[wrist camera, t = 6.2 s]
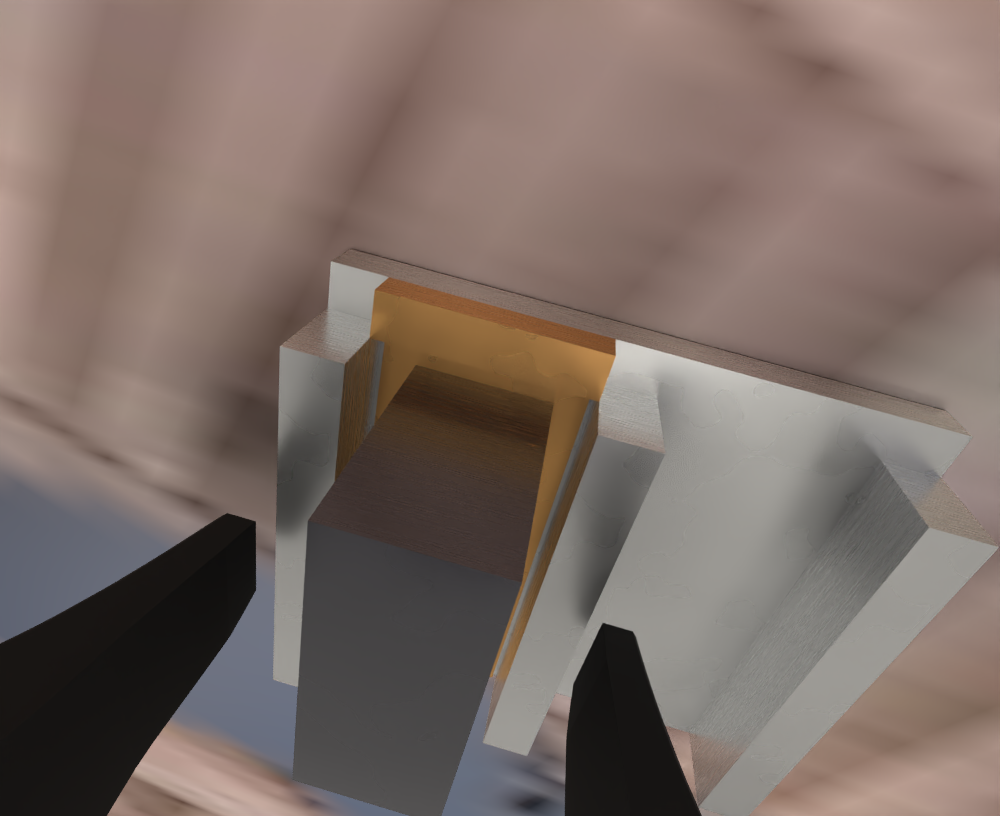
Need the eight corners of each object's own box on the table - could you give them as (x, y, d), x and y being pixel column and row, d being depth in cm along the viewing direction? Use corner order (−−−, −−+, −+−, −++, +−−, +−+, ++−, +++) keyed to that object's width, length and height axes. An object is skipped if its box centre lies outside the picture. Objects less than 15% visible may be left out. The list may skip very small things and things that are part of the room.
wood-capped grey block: (553, 403, 12) (521, 582, 8) (485, 619, 16) (438, 824, 11) (416, 364, 12) (308, 520, 8) (379, 588, 16) (292, 779, 11)
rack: (946, 410, 12) (1040, 502, 9) (723, 711, 17) (743, 821, 15) (350, 249, 12) (280, 292, 10) (322, 593, 18) (273, 679, 15)
